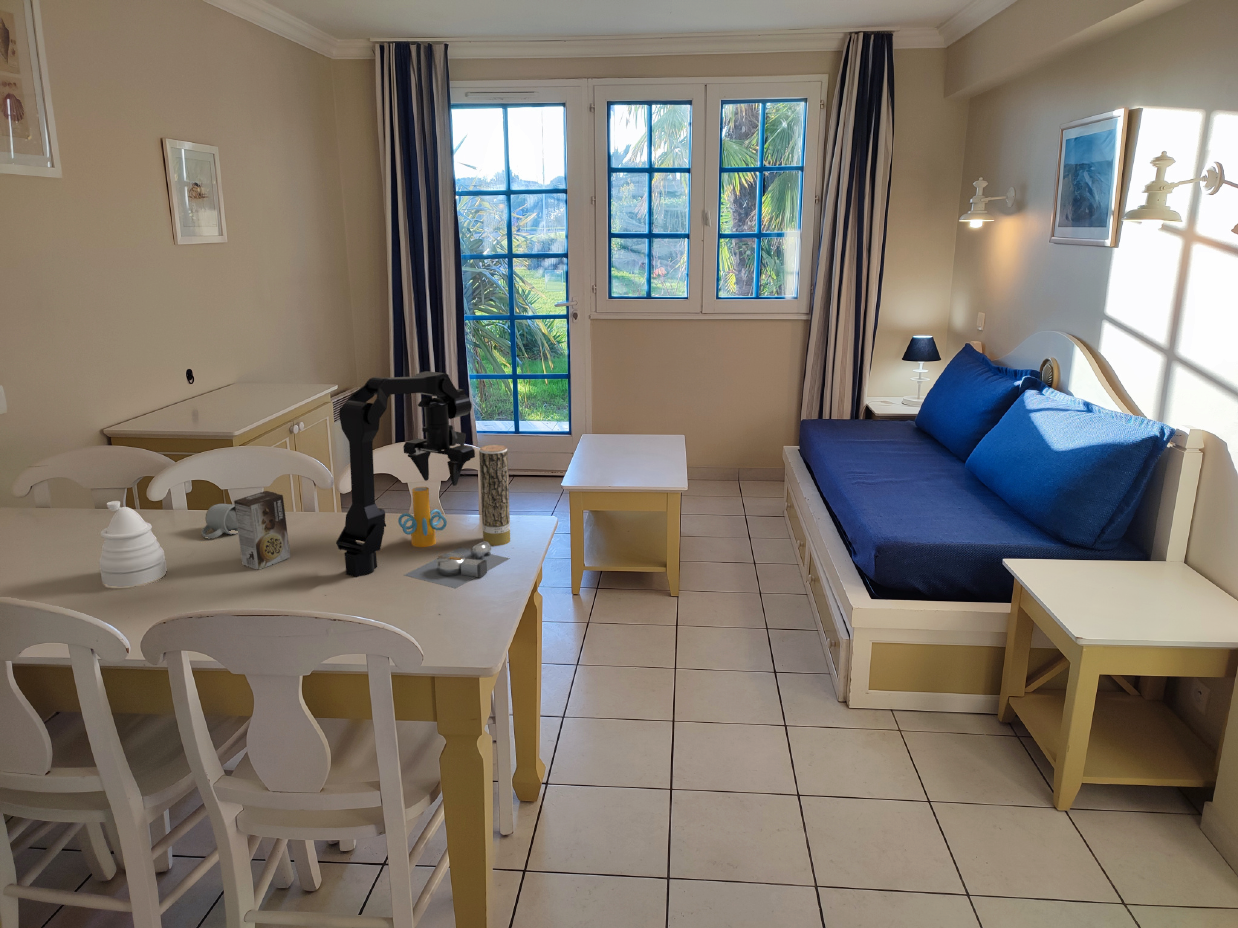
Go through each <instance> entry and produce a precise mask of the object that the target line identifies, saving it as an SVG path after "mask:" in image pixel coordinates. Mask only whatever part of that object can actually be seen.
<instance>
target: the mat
mask: <svg viewBox="0 0 1238 928" xmlns="http://www.w3.org/2000/svg"><path fill="white" fill-rule="evenodd" d="M470 550H471V548H470V549H469V548H465V547H458V548H457V549H455V550H453V551H450V552H449V553H459V554H462V555H464V556H465V560H466V559H473V560H480V561H483V560H487V572H489V571H490V570H492V569H494V568H496V567H498V566H500V565H501V564H503V563H505V562H507V561H508V560H510V559H511V558H509V557H504V556H502V555H501V556H500V555H497V554H492V553H491V555H490V556H485V555H484V556H485V559H483V560H482V559H478V558H474V557H471V552H470ZM404 576H405V577H410V578H413V579H417V580H421V581H424V582H428V583H433V584H436V585H440V586H441V585H442V586H444V587H449V588H453V589H458V588H459V587H461V586H463V585H464V584H466V583H468V582H470V581H472V580H474V579H476V578H477V577H474V576H467V575H461V574H459V575H455V576H443V575H440V574H438V573H437V560H436V559H433V560H432V561H430V562H428V563H425V564H423V565H421V566H419V567H417V568H415V569H413V570H411V571H410V572H407V573H405V574H404Z"/></svg>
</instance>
